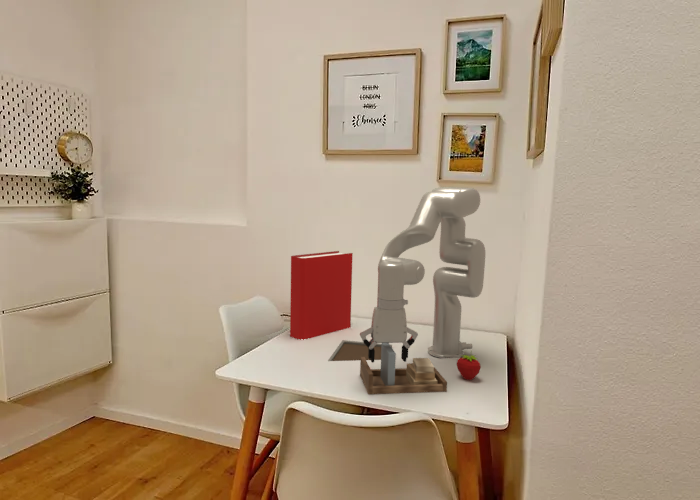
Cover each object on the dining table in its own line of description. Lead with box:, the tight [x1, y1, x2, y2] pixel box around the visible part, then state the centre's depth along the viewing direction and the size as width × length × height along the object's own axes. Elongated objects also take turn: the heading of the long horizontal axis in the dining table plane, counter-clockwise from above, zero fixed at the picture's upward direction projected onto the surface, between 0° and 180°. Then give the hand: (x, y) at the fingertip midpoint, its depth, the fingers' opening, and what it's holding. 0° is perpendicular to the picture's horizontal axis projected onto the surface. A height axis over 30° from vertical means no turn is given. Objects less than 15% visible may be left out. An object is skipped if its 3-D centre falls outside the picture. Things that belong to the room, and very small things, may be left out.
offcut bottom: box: [406, 371, 438, 385], centre depth 145 cm, size 7×9×2 cm
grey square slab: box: [380, 343, 397, 386], centre depth 143 cm, size 2×10×11 cm, turn 8°
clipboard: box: [327, 339, 393, 362], centre depth 171 cm, size 19×2×30 cm
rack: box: [359, 357, 448, 395], centre depth 144 cm, size 23×14×7 cm, turn 98°
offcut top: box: [412, 357, 435, 373], centre depth 144 cm, size 5×7×2 cm
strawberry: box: [456, 349, 482, 381], centre depth 149 cm, size 6×8×10 cm
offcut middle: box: [406, 362, 435, 381], centre depth 145 cm, size 6×8×2 cm
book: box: [289, 250, 353, 341], centre depth 196 cm, size 27×8×32 cm, turn 136°
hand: (387, 360), depth 143 cm, fingers open, 9 cm apart
